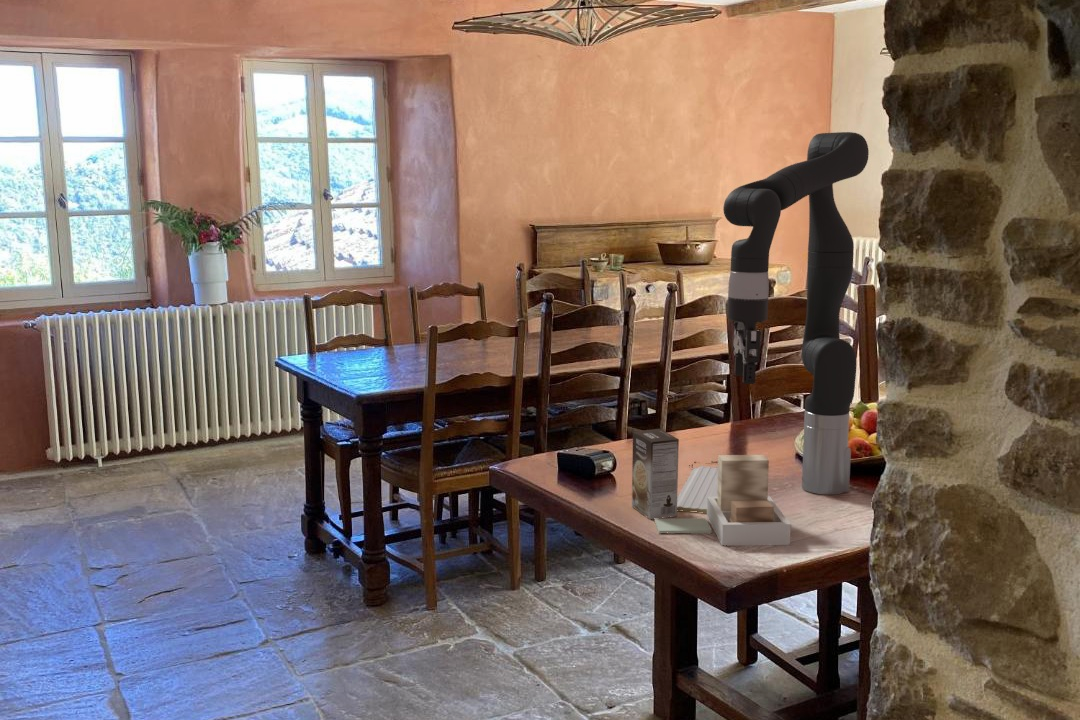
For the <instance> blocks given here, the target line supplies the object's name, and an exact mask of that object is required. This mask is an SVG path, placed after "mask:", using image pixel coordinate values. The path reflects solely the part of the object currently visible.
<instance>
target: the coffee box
mask: <svg viewBox="0 0 1080 720" xmlns="http://www.w3.org/2000/svg"><path fill="white" fill-rule="evenodd" d="M679 442H680V440H679V438H677V437H675V436H673V435H672V434H670V433H668V432H666V431H665V430H663V429H661V428H654V429H646V430H637V431H636V430H635V431H633V432H632V465H631V466H632V472H631V473H632V474H631V477H632V478H631V479H632V480H631V481H632V482H631V483H632V484H631V507H632V508H634V509H635V510H637V511H638V512H639V513H640V514H642V515H643V514H644V515H643V516H645V517H646V516H647V517H648V518H647V517H646V518H647V519H649V520H650V519H652V520H655V519H654V518H659V519H663V518H662V517H667V518H671V517H670V516H674V517H677V516H678V511H677V497H678V483H679V482H678V479H679V444H680V443H679Z"/></svg>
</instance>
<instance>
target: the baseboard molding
mask: <svg viewBox="0 0 1080 720" xmlns="http://www.w3.org/2000/svg"><path fill="white" fill-rule="evenodd" d="M693 463H694V464H697V463H698V464H699V462H697V461H694V462H693ZM693 463H692V464H691V465H688V467H691V468H693V469H692V471H691V473H690V474H689V476H688V478H687V480H686V481H685V483H684V485H683V487H682V488H681V490H680V492H679V494H677V510H683V511H682V512H684V511H697V512H703V513H702V514H707V497H717V491H718V466H716V467H714V466H713V467H712V466H704V465H700V466H699V467H693V466H694V464H693ZM706 464H707V465H712V464H718V460H717V461H713V460H712V461H711V462H710V463H706Z"/></svg>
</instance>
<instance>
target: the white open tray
mask: <svg viewBox="0 0 1080 720" xmlns="http://www.w3.org/2000/svg"><path fill="white" fill-rule="evenodd" d="M768 501H769V502H770V503H771V504H772V505H773V506H774V516H773V522H735V523H729V518H731V511H721V509H720V508H719V506H718V504H717V497H707V513H706V517H707V519H708V521H709V523H710V525H711V528H712V529H713V530H714V533H715V534H716V536H717V539H718V540H719V542H720V544H721V546H723V545H724V546H726V545H727V546H733V547H734V546H735V547H736V546H790V545H791V544H790V543H791V523H790V521H789V520H788V519H787V517H786V516H785V515H784V514H783V512H782V511H781V510H780V508H779V507H778V506H777V504H776V503H775V502H774V500H773V499H772V498H771V495H768Z"/></svg>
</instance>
